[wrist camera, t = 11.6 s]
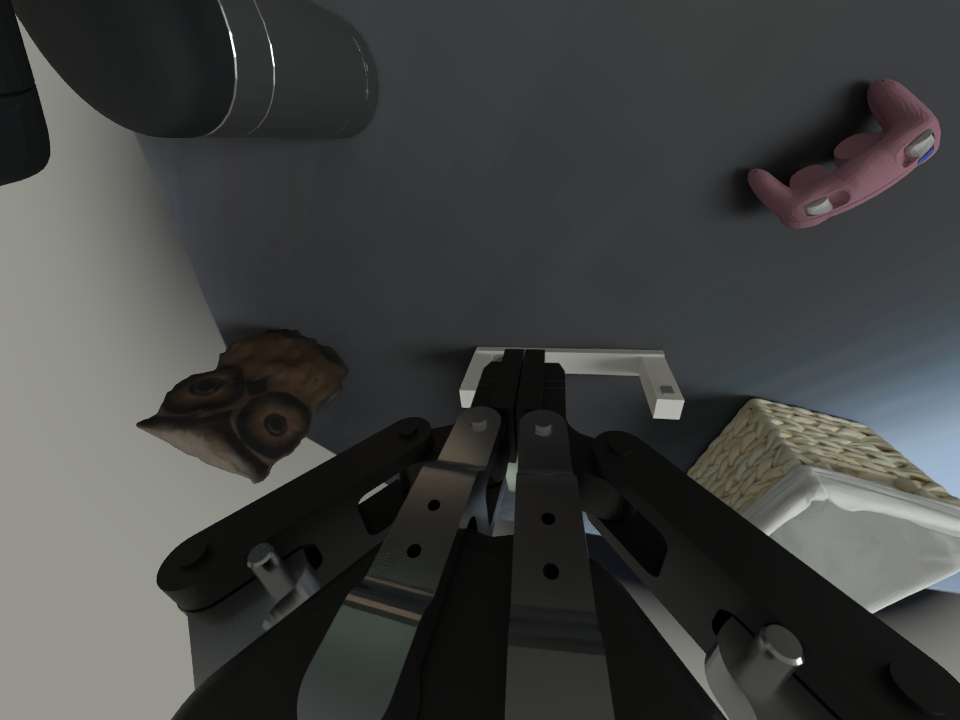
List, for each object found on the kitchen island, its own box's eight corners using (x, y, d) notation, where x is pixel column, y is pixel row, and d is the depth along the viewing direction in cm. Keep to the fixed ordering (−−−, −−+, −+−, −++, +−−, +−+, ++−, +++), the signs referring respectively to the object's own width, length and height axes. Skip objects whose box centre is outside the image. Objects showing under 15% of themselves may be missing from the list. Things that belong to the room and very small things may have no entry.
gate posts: (477, 366, 47) (462, 409, 39) (475, 346, 45) (458, 387, 38) (657, 371, 42) (678, 422, 35) (662, 350, 40) (685, 397, 33)
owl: (256, 324, 50) (106, 415, 34) (329, 314, 47) (203, 410, 30) (296, 394, 57) (186, 500, 40) (364, 390, 53) (275, 504, 37)
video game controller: (750, 206, 33) (802, 249, 29) (738, 172, 30) (794, 214, 26) (882, 117, 28) (969, 152, 24) (883, 66, 25) (982, 96, 21)
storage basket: (756, 531, 53) (814, 649, 41) (650, 502, 54) (675, 608, 42) (885, 418, 40) (1029, 542, 28) (741, 382, 41) (817, 486, 29)
